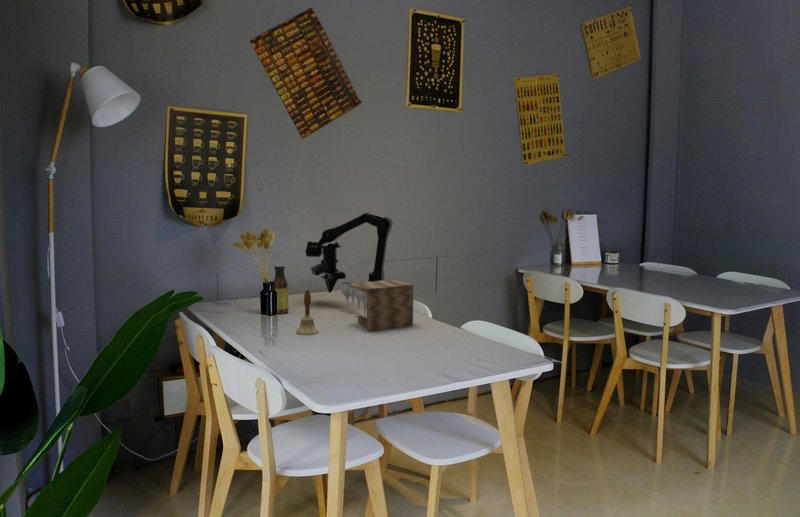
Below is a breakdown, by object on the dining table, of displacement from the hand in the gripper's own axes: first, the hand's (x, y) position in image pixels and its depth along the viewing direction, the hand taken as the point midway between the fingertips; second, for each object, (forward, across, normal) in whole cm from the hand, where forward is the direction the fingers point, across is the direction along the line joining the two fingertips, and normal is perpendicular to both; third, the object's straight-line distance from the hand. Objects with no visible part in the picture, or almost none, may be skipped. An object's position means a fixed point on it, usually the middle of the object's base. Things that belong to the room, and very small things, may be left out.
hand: (329, 292), depth 297 cm
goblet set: (+6, +26, 0) cm, 27 cm away
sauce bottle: (+6, +4, -25) cm, 26 cm away
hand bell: (+6, +40, -30) cm, 50 cm away
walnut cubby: (+6, +43, 0) cm, 44 cm away
